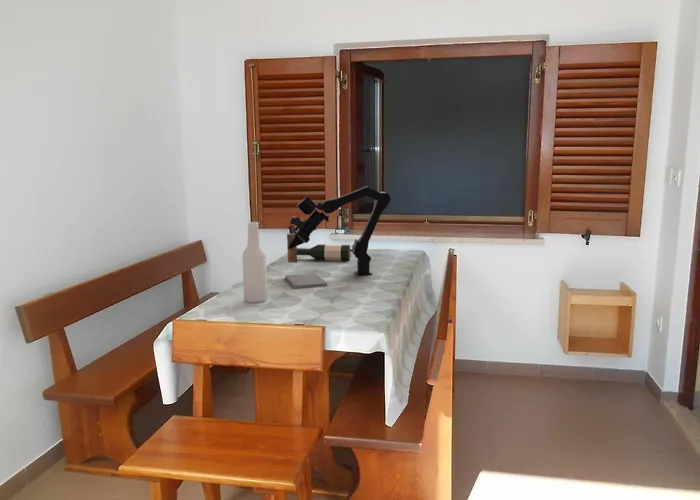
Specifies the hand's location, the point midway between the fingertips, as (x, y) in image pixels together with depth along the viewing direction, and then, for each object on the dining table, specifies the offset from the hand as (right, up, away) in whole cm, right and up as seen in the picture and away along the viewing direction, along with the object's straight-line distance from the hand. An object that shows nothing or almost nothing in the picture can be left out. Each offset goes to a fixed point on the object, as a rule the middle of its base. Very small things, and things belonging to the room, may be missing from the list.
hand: (289, 247), depth 255 cm
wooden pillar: (+1, -6, +1) cm, 7 cm away
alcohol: (-9, -21, -37) cm, 43 cm away
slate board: (+8, -15, -8) cm, 19 cm away
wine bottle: (+27, -3, +38) cm, 46 cm away
